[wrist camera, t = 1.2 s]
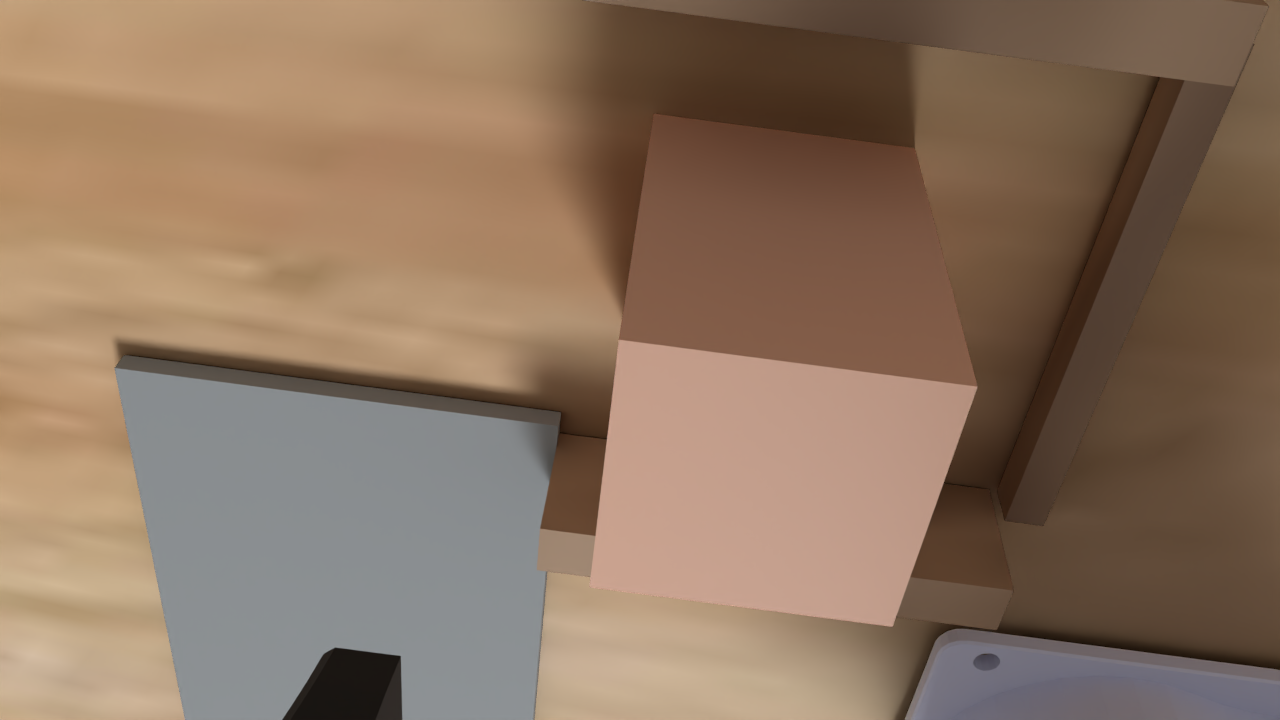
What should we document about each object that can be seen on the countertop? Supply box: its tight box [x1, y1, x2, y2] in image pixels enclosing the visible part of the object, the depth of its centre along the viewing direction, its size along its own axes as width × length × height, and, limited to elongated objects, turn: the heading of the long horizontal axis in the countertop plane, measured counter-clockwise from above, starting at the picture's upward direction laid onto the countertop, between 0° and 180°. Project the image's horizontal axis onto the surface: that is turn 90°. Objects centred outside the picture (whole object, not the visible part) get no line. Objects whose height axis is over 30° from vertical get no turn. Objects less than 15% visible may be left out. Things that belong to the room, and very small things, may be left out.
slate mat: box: [115, 355, 561, 720], centre depth 25 cm, size 8×14×1 cm, turn 174°
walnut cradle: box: [537, 0, 1269, 630], centre depth 18 cm, size 9×11×2 cm
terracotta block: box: [589, 114, 978, 627], centre depth 16 cm, size 4×4×6 cm
